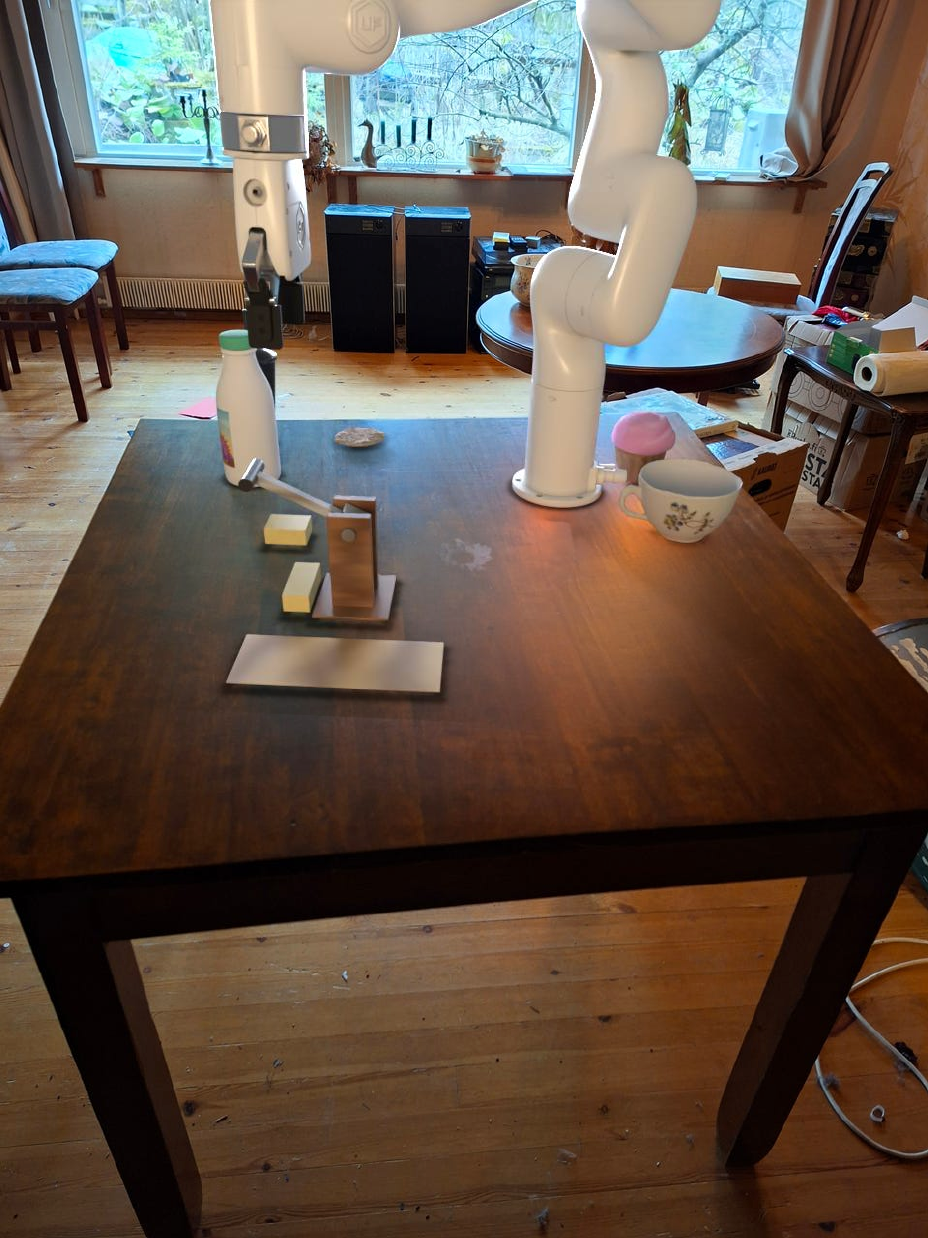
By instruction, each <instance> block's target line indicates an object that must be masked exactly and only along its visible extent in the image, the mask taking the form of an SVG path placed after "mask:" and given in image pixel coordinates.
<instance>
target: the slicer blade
mask: <svg viewBox="0 0 928 1238" xmlns="http://www.w3.org/2000/svg"><path fill="white" fill-rule="evenodd" d="M264 467H265V465H264V463H263V461H262V460H260V459H253V460H252V461H251V463H250V464H249V466H248V468H247V469H246V471H245V472H244V474H243V476H242V477H241V479H240V481H239V483H238V486H237V487H238V488H239V490H240V491H242V492H244V493H250V492H251V491H252V490H253V489H254V488H255V487H254V485H255V484H256V485H258V487H261V488H263V489H265V490H267V491H269V492H270V493H273V494H275V495H278V496H280V497H282V498H284V499H286V500H288V501H291V502H292V503H295V504H297V505H299V506H300V507H303V508H306V509H307V510H310V511H312V512H314V513H316V514H318V515H321V516H322V517H324V518H326V516H327V514H328V513H352V514H369V513H367V512H365V511H363V510H361V509H358V508H356V507H354V506H352V505H350V504H348V503H346V504H345V506H344V508H343V510H341V509H338V508H336V507H334V506H333V504H329V503H328V502H326V501H324V500H321V499H320V498H317V497H315V496H313V495H311V494H308V493H307V492H304V491H302V490H300V489H298V488H296V487H294V486H292V485H291V484H290V485H289V484H287V483H286V482H283V481H281V480H280V479H278V480H277V479H275V478H273V477H270V476H268V475H266V474H264V473H262V471H263V470H264Z"/></svg>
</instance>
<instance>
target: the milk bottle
mask: <svg viewBox="0 0 928 1238" xmlns="http://www.w3.org/2000/svg"><path fill="white" fill-rule="evenodd" d="M218 343H219V346H220V352H221V353H222V367H221V371H220V375H219V377H218V379H217V383H216V389H215V407H216V415H217V416H216V417H217V424H218V433H219V439H220V446H221V447H220V448H221V455H222V461H223V468H224V474H225V478H226V479H227V481H228V482H229V484H232V485H234V486H237V487H239V486H238V483H239V481H240V479H241V477H242V476H243V474H244V472H245V471H246V469H247V468H248V466H249V464H250V463H251V461H252V460H253V459H260V460H262V461H263V463H264V465H265V467H264V470H263V471H262V473H264V474H266V475H268V476H270V477H273V478H275V479H277V480H279V479H280V477H281V474H282V465H281V455H280V446H279V444H280V443H279V434H278V427H277V426H278V425H277V417H276V415H277V414H276V406H275V407H274V400H273V395H272V391H271V388H270V385H269V383H268V381H267V379H266V377H265V375H264V374H263V372H262V370H261V368H260V366H259V364H258V361H257V358H256V354H255V351H256V350H257V348H251V347H250V346H249V340H248V331H247V330H245V329H230V330H226V331H222V332H221V333H219V335H218ZM257 487H259V486H258V485H256V484H255V485H254V487H253V488H257Z"/></svg>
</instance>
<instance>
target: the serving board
mask: <svg viewBox="0 0 928 1238" xmlns="http://www.w3.org/2000/svg"><path fill="white" fill-rule="evenodd" d="M444 646H445V643H444V642H442V641H441V642H437V641H415V640H414V641H413V640H395V639H393V640H392V639H391V640H390V639H368V638H367V639H365V638H343V637H319V636H299V635H298V636H297V635H296V636H295V635H271V634H250V633H248V634H246V635H245V637H244V640H243V642H242V645H241V646H240V649H239V651H238V654H237V656H236V658H235V661H234V663H233V665H232V667H231V670H230V671H229V674H228V677H227V679H226V681H225V684H237V685H238V684H239V685H263V686H285V687H287V686H288V687H308V688H309V687H311V688H330V689H332V688H333V689H334V688H335V689H354V690H355V689H358V690H376V691H377V690H380V691H399V692H401V691H402V692H403V691H404V692H423V693H424V692H425V693H427V692H428V693H440V692H441V680H442V669H443V660H444V659H443V657H444Z"/></svg>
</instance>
